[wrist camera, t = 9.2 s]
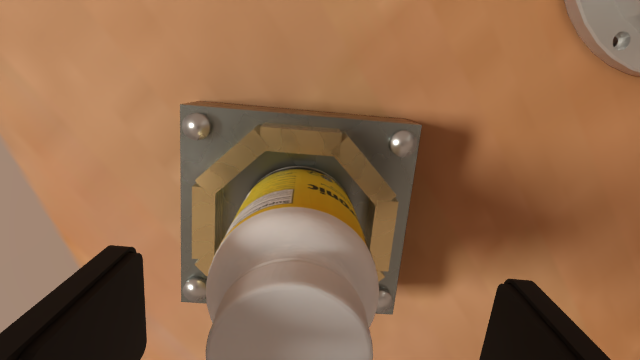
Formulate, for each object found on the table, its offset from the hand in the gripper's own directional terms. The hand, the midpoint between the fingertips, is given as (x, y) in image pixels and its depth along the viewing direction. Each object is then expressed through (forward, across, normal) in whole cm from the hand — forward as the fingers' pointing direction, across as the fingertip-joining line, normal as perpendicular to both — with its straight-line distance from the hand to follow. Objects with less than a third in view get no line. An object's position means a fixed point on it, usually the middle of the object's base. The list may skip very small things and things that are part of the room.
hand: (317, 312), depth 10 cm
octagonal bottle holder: (+12, +1, +1) cm, 12 cm away
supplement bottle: (+9, +1, +1) cm, 9 cm away
